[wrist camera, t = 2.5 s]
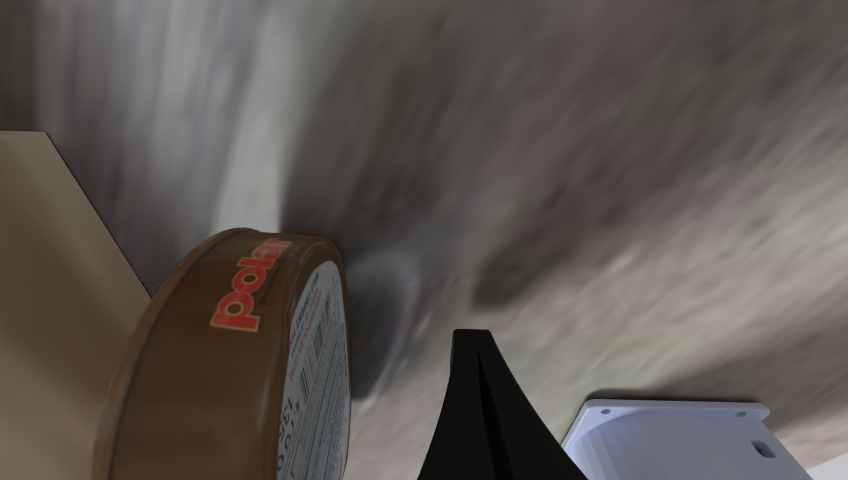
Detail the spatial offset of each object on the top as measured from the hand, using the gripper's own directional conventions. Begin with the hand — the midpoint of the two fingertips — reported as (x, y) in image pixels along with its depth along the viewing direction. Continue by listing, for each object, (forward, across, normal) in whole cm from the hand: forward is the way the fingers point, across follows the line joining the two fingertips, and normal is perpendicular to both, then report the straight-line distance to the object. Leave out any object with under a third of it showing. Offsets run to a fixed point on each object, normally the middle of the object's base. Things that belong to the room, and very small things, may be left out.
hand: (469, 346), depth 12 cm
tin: (+2, +6, +2) cm, 7 cm away
